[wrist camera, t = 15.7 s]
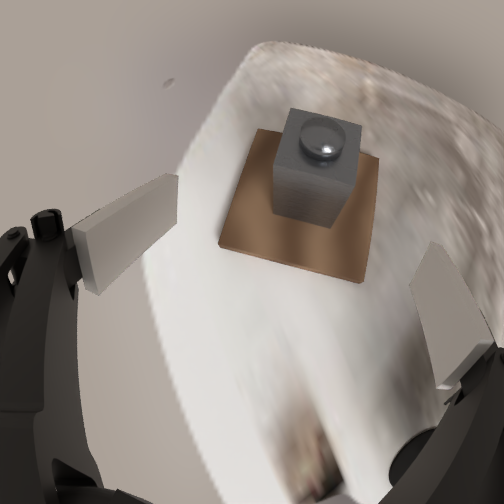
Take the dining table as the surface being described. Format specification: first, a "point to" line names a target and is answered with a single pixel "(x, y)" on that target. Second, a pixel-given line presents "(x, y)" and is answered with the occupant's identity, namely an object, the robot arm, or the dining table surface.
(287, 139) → the socket
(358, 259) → the post base
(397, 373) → the dining table surface
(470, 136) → the dining table surface
